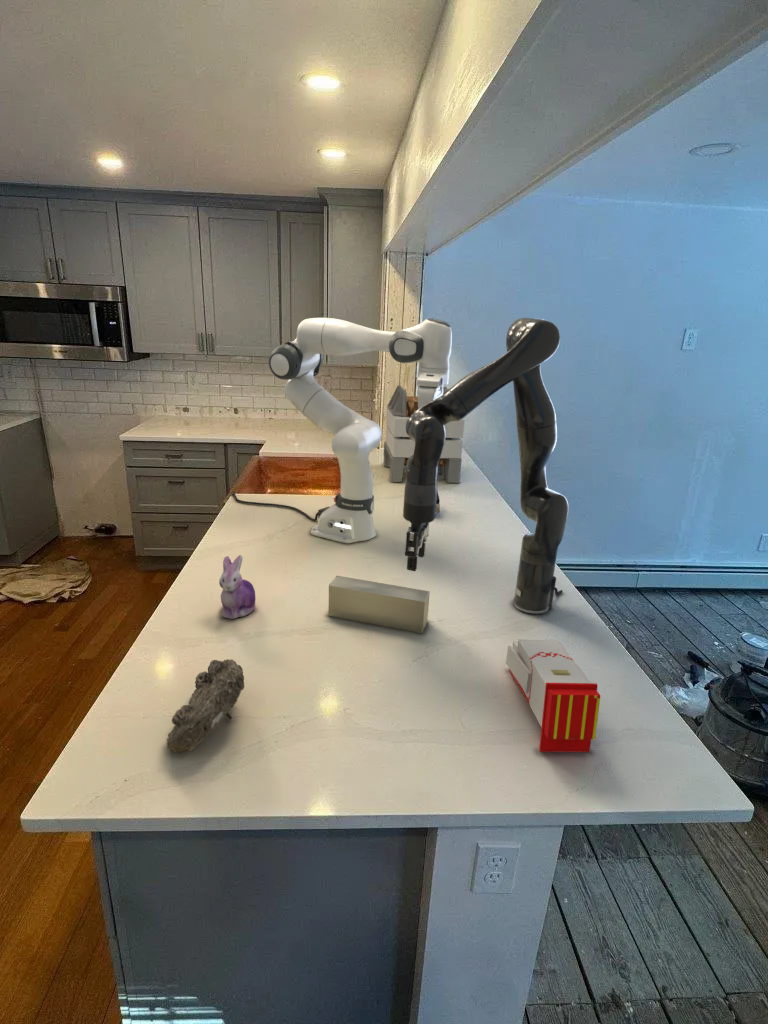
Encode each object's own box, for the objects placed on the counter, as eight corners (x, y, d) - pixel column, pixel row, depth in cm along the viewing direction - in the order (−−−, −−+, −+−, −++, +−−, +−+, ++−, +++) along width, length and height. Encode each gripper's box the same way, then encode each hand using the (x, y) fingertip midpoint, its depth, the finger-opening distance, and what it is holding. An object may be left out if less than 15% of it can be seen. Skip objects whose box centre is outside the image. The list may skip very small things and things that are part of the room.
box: (328, 615, 145) (328, 585, 142) (336, 605, 151) (336, 575, 148) (422, 633, 139) (424, 602, 136) (427, 621, 144) (429, 591, 142)
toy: (554, 622, 128) (610, 691, 98) (548, 677, 130) (601, 759, 101) (501, 621, 127) (541, 690, 98) (496, 676, 130) (534, 758, 101)
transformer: (382, 463, 289) (386, 382, 275) (445, 464, 293) (451, 384, 279) (390, 482, 257) (394, 392, 243) (460, 483, 261) (468, 394, 247)
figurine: (224, 623, 139) (221, 568, 134) (215, 604, 148) (212, 552, 142) (262, 616, 143) (260, 562, 138) (251, 598, 152) (249, 546, 147)
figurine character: (440, 522, 216) (436, 505, 230) (442, 504, 213) (438, 488, 226) (422, 521, 216) (419, 504, 229) (424, 503, 213) (421, 487, 226)
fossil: (192, 660, 117) (244, 628, 112) (224, 691, 120) (276, 661, 115) (142, 746, 98) (202, 712, 93) (182, 779, 101) (242, 748, 96)
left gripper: (429, 373, 176) (425, 417, 181) (415, 380, 158) (411, 429, 162) (449, 375, 175) (445, 419, 180) (437, 382, 156) (433, 431, 161)
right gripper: (429, 511, 124) (424, 577, 129) (441, 492, 137) (436, 554, 142) (396, 506, 126) (393, 572, 131) (411, 489, 139) (407, 549, 144)
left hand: (429, 424), depth 171 cm, fingers open, 8 cm apart
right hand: (415, 563), depth 137 cm, fingers open, 8 cm apart
